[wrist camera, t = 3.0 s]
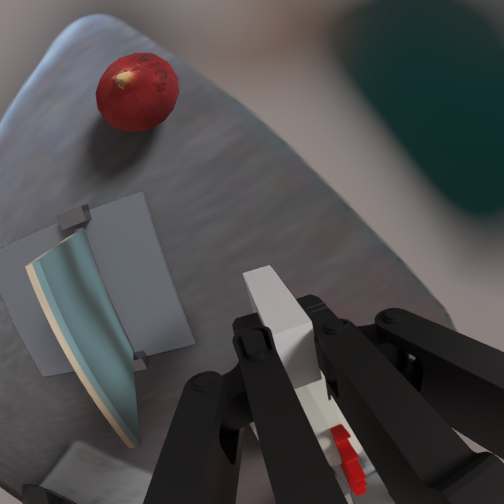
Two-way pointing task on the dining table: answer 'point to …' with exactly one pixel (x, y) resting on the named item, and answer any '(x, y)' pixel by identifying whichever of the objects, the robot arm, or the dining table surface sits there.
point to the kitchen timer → (332, 432)
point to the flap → (89, 329)
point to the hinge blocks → (79, 217)
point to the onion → (137, 92)
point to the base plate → (115, 279)
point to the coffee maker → (368, 484)
